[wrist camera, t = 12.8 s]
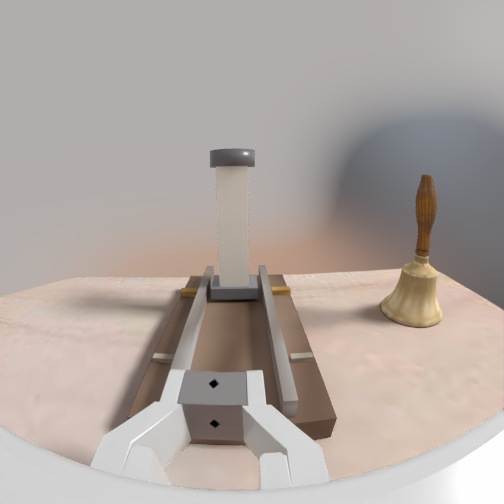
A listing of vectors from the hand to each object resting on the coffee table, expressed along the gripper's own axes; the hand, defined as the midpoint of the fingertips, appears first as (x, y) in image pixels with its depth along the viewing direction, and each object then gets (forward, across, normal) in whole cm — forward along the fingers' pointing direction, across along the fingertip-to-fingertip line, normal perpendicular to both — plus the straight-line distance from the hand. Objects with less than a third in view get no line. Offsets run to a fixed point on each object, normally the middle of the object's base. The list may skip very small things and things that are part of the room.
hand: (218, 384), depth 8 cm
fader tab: (+21, 0, +6) cm, 21 cm away
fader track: (+15, 0, +8) cm, 17 cm away
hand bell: (+18, -21, +8) cm, 29 cm away
